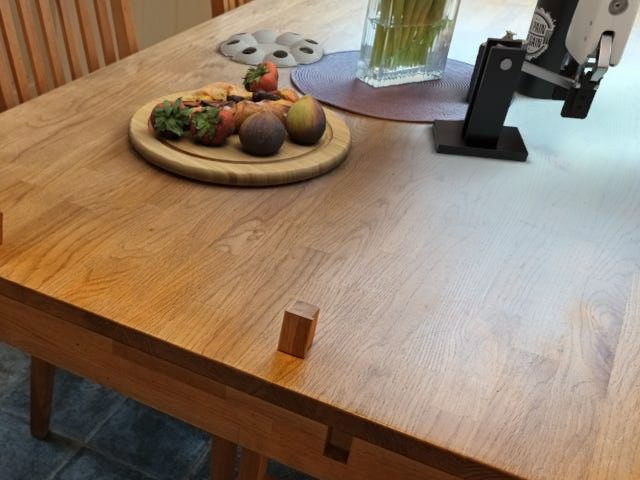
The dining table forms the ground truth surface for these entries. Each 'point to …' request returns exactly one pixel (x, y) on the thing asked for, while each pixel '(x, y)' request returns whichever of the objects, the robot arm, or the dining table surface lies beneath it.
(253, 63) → the round palette
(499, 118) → the black stand
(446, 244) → the dining table surface
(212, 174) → the wooden plate
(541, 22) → the water bottle
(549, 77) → the lever
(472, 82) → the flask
